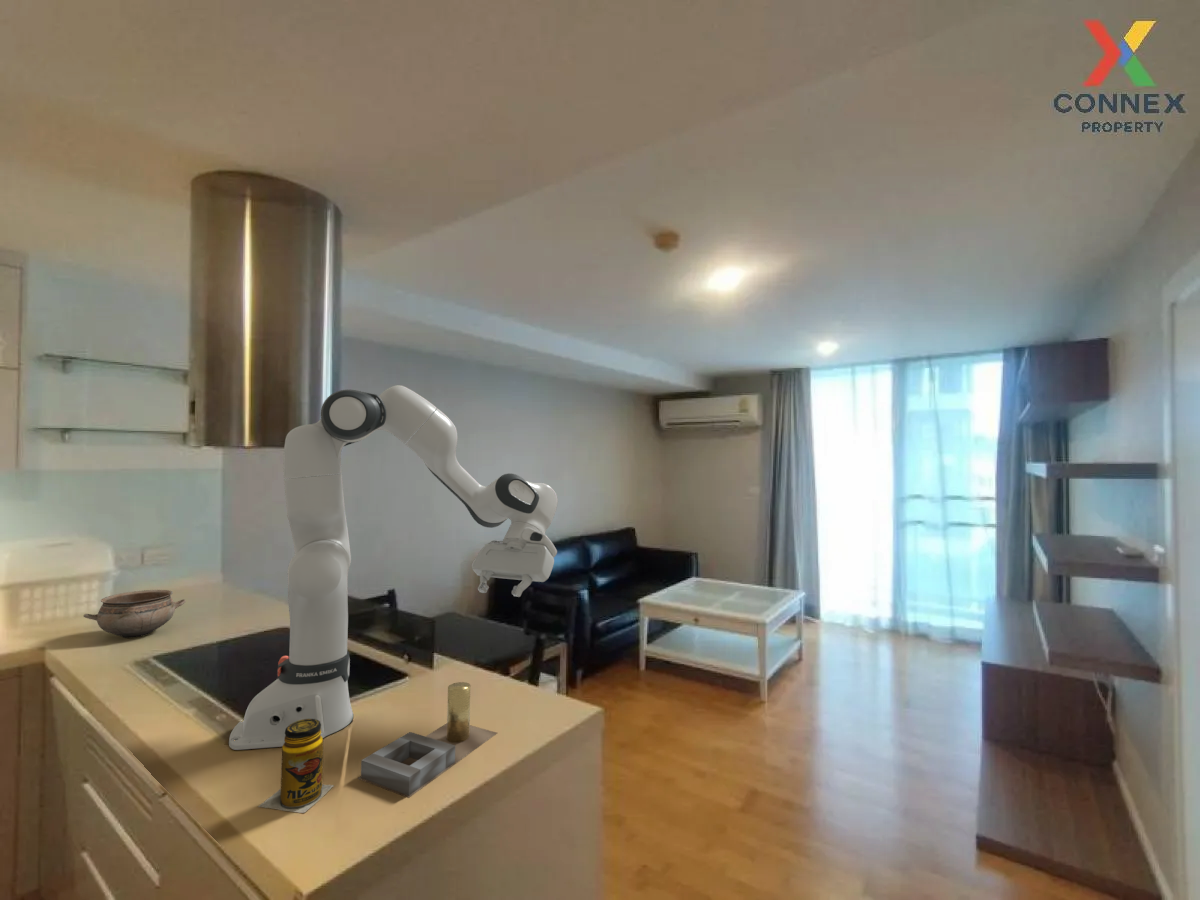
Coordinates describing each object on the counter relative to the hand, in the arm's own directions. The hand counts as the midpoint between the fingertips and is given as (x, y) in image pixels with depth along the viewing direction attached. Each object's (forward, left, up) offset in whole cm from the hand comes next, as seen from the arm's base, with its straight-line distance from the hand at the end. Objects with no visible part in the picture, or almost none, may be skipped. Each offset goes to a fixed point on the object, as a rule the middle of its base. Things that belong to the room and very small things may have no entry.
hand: (498, 593), depth 120 cm
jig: (-14, -13, -27) cm, 33 cm away
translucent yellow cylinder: (-9, -9, -26) cm, 29 cm away
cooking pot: (-97, +95, -27) cm, 138 cm away
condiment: (-36, -17, -27) cm, 49 cm away
